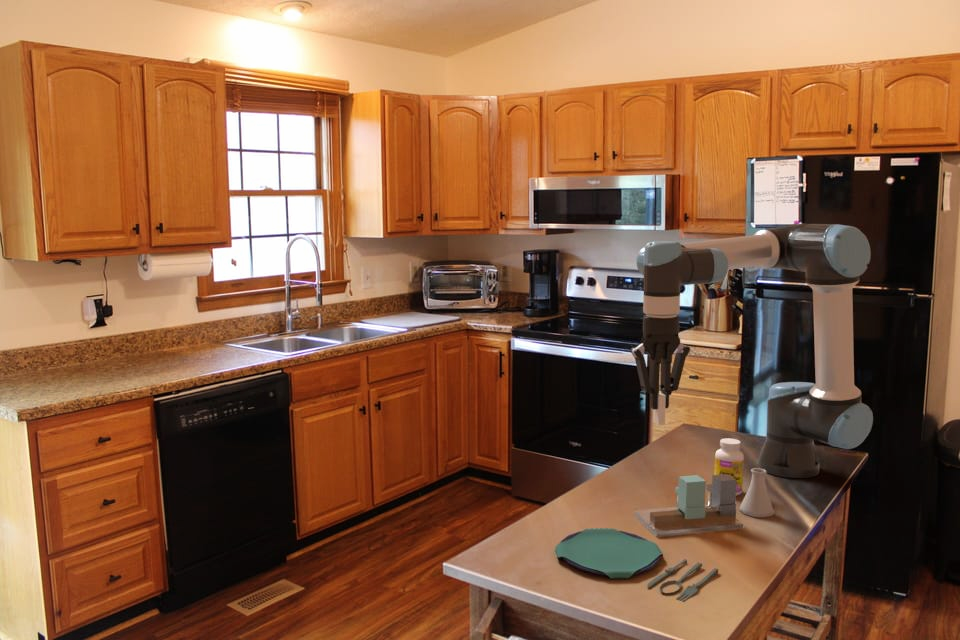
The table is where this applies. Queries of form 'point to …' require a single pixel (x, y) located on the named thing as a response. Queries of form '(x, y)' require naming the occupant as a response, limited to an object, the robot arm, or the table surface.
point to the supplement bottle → (730, 461)
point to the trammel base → (684, 528)
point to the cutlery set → (621, 557)
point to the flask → (757, 496)
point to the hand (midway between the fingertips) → (658, 423)
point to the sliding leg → (691, 496)
